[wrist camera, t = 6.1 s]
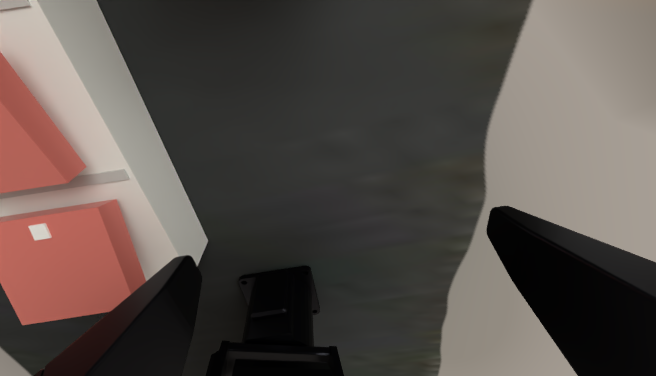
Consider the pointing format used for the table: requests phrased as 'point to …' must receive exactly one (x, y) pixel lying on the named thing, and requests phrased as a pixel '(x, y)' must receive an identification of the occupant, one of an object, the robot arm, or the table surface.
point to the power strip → (98, 127)
